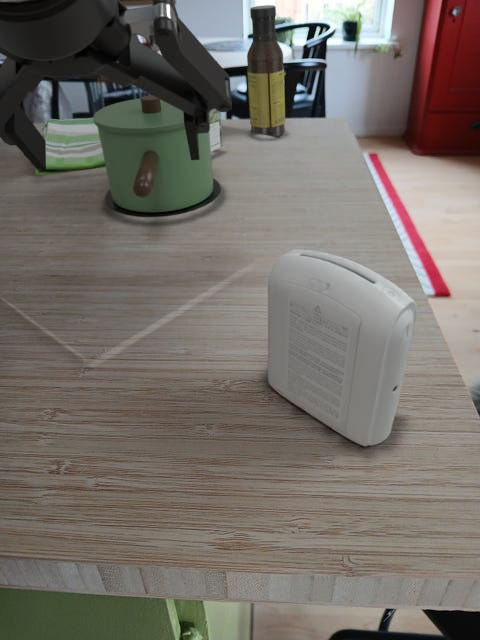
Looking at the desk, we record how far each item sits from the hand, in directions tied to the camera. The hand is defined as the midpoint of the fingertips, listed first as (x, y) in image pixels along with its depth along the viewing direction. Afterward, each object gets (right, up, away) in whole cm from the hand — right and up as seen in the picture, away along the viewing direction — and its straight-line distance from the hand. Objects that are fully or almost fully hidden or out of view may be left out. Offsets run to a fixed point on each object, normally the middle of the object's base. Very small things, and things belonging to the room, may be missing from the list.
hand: (118, 150), depth 46 cm
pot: (0, 0, +21) cm, 21 cm away
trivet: (0, +2, +26) cm, 26 cm away
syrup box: (+4, +12, +40) cm, 42 cm away
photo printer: (+18, -22, -7) cm, 29 cm away
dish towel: (-15, +14, +43) cm, 48 cm away
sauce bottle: (+16, +18, +47) cm, 53 cm away
